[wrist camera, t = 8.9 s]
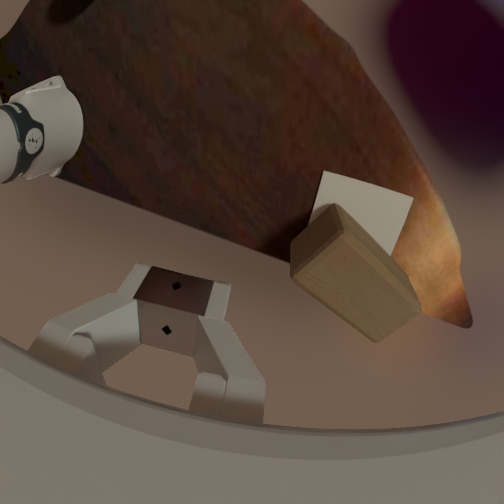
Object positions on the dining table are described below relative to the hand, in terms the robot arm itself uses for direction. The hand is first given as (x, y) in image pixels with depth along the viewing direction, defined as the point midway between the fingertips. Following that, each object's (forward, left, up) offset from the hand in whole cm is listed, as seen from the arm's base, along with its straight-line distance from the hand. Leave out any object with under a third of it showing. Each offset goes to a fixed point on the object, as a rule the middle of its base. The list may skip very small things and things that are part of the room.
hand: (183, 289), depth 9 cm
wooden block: (+9, -11, -29) cm, 32 cm away
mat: (+17, -9, -34) cm, 39 cm away
